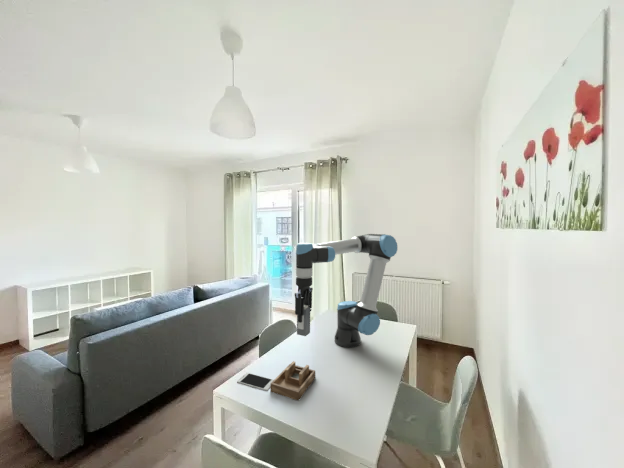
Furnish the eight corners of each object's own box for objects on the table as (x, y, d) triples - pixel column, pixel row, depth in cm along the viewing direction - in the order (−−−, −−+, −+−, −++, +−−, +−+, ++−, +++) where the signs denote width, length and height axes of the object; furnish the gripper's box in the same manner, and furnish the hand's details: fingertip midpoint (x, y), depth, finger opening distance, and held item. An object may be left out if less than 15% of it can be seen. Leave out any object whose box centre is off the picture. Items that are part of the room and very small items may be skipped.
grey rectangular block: (301, 330, 122) (301, 303, 121) (310, 332, 120) (310, 305, 119) (296, 334, 118) (297, 306, 117) (305, 336, 116) (305, 307, 115)
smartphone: (267, 392, 106) (267, 389, 106) (236, 383, 112) (236, 381, 112) (275, 382, 113) (275, 380, 113) (246, 374, 119) (246, 372, 119)
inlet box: (290, 371, 120) (289, 358, 120) (315, 378, 115) (315, 365, 114) (270, 391, 106) (270, 377, 105) (298, 400, 100) (298, 386, 100)
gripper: (305, 272, 127) (305, 319, 128) (287, 279, 112) (286, 332, 113) (319, 274, 124) (318, 321, 125) (302, 281, 108) (301, 335, 109)
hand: (303, 326), depth 119 cm, fingers closed on grey rectangular block, 4 cm apart
